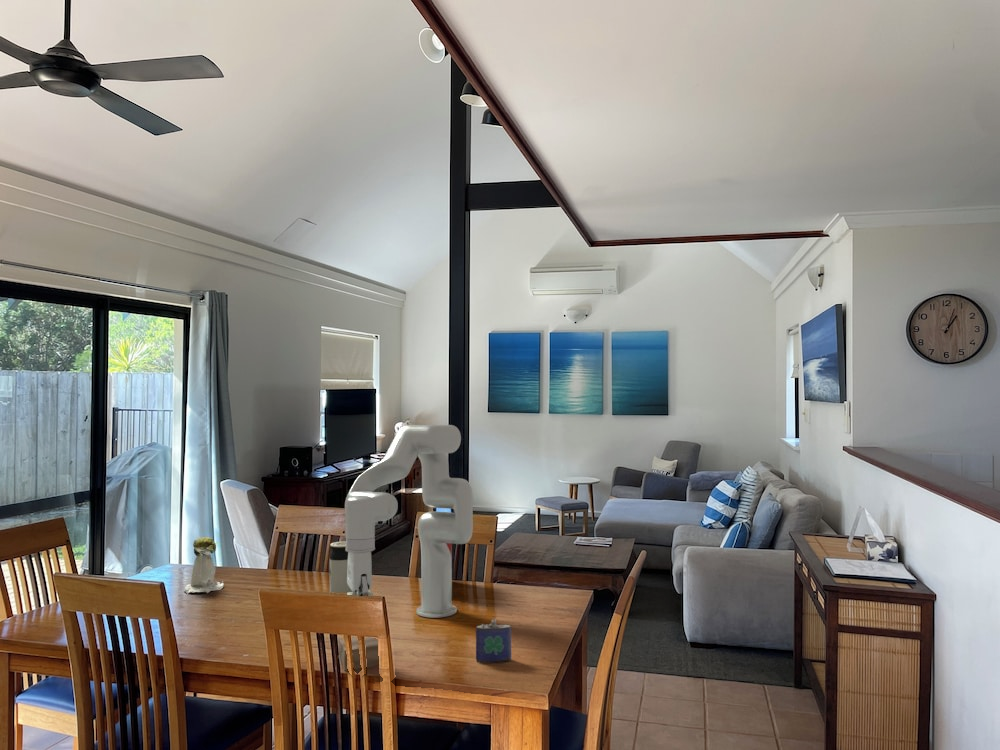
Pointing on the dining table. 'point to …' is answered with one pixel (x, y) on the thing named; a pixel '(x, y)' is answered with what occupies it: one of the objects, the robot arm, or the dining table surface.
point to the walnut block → (370, 652)
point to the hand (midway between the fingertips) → (360, 613)
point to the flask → (493, 643)
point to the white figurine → (203, 567)
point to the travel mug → (338, 568)
